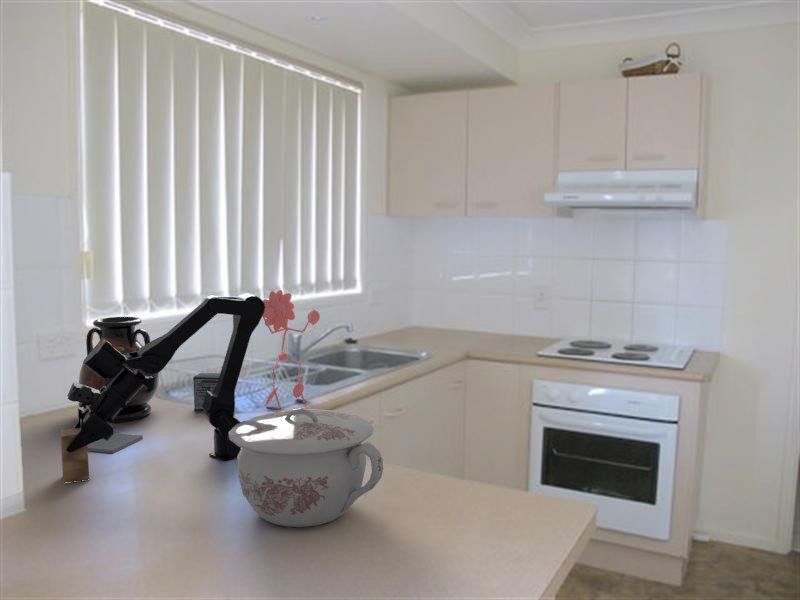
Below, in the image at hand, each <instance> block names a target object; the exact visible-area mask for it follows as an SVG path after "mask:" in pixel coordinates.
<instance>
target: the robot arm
mask: <svg viewBox="0 0 800 600" xmlns="http://www.w3.org/2000/svg"><path fill="white" fill-rule="evenodd" d="M264 311H265V304H264V303H263V299H261V297H258V296H256V295H254V294H251V293H242V294H240V295H237V296H218V295H217V296H216V295H208V296H207V297H205V299H204V300H202V302H201V303H200V304H198V305H197V306H196V307H195V308H194V309H193V310H192V311H191V312H189V313H188V314H187V315H186V316H185V317H183V318H182V319H181V320H180V321H179V322H178V323H177V324H175V325H174V326H173V327H172V328H171V329H169V331H167V332H166V333H165V334H163V335H161V336H159V337H156V338H155V339H152V340H150V342H149V343H148V344H146V345H145V344H144V345H143V347H141V348H140V349H139V350H138V351H135V352H131V353H126V354H121V353H120V352H119V351H117V350H116V349H115V348H114V347H113V346H112V345H111V344H110V343H109V342H108V341H104V342H103V343H102V344H101V345H99V346H98V347H97V348H96V349H95V350H94V348H93V350H92V351H91V352H90V353H89V354H88V356H87V355H86V357H85V358H84V360H83V361H82V365H83V364H84V365H85V366H87V367H88V368H89V369H91V370H92V371H93V372H94V373H96V374H97V375H98V376H99V377H101V378H102V379H106V378H108V379H112V378H114V377H115V376H116V375H117V374H118V373H119V372H120V370H121V369H122V368H124V369H123V370H122V371H121V372H120V373H119V374H118V375H117V376H116V378H115V379H114V380H113V381H112V382H111V383H110V384H109V385H108V386H107V387H106V386H104V387H103V386H102V387H101V388H100V389H99V390H97V389H94V388H91V387H88V386H85V385H82V384H79V382H75V381H74V382H72V384H71V387H70V389H69V391H68V394H67V399H68V400H69V401H70V402H71V401H72V402H76V403H78V404H77V405H78V406H79V408H77V417H78V418H77V421H76V423H75V425H74V426H73V427H72V429H75V428H80V430H79V431H78V433H77V434H76V436H75V437H74V439H73V440H72V441H71V443H70V444H69V446H68V447H67V449H66V451H68V452H69V453H71V452H73V451H75V450H77V449H80V448H82V447H84V446H86V445H88V444H90V443H93V442H95V441H97V440H100V439H103V438H104V439H105V440H107V441H108V439H109V438H110V437H111V436H112V435H113V434H114V433H115V431H114V425H113V423H114V422H113V421H114V419H113V418H114V417H115V416H116V415H117V414H118V413H119V412H120V410H121V409H122V408H123V409H124V410H125V408H126V407H127V403H128V402H129V401H130V400H131V399H132V398H133V397H134V395H135V394H136V393H137V392H138V391H139V390H140V389H141V388H142V387H143V386H144V385H145V386H146V387H147V388H149V389H150V390H153V377H152V376H148V377H147V376H145V375H144V374H143V373H141V372H140V371H139V370H138V369H142V370H143V371H144V372H145V373H148V374H156V373H159V374H160V372H162V371H163V370H164V368H166V366H167V365H168V363H169V362H170V361H171V360H172V359H173V357H174V356H175V354H176V352H177V351H178V349H179V348H181V346H182V345H184V343H186V342H187V341H188V340H189V339H190V338H191V337H192V336H193V335H195V334H196V333H197V332H198V331H200V330H201V329H202V328H203V327H204V326H205V325H206V324H207V323H209V322H210V321H211V320H212V319H213V318H215V316H217V315H219V314H220V315H232V325H233V327H232V332H231V337H230V340H229V343H228V345H227V350H226V353H225V356H224V359H223V363H222V366H221V369H220V370H221V371H220V372H219V373H220V376H219V380H218V383H217V386H216V387H215V389H214V390H213V392H209V391H206V396H205V401H204V403H203V404H202V408H203V409H204V410H203V411H202V414H203V416H204V417H205V419H206V421H207V422H208V423H209V424H210V425H211V426H212V427H213V428H214V429H213V434H214V435H213V444H214V448H213V449H214V451H212V452H209V453H208V455H209V456H210V457H213V458H214V459H218V460H221V461H223V462H224V461H225V462H226V461H229V460H233V459H237V456H238V454H239V452H240V450H241V447H239V446H237V445H236V444H235V443H233V442H232V441H231V440H229V431H230V430H231V429H232V428H233V427H234V426H235V425H236V424H238V423H240V422H241V421H240V420H239V419H238V418H237V417H236V416H235V410H236V409H235V408H236V396H235V395H236V394H235V392H236V388H237V384H238V380H239V377H240V374H241V372H242V371H241V370H242V367H243V365H244V361H245V357H246V354H247V350H248V346H249V343H250V340H251V336H252V334H253V332H254V331H255V330H256V328H257V327H258V326H259V325H260V322H261V319H263V317H262V316H263V314H264ZM124 363H126V364H127V365H128V366H130V367H131V368H134V369H136V370H134V371H132V370H130V369H129V368H128V367H126V366H125V365H124ZM80 408H81V409H80Z"/></svg>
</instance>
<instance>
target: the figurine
mask: <svg viewBox="0 0 800 600" xmlns="http://www.w3.org/2000/svg"><path fill="white" fill-rule="evenodd" d="M291 299H292V294H291V293H290V292H286V293H284V294H283V290H281V289H278V290H277V291H276V292H275V291H274V290H271V291H270V292H269V295H268V299H262V301H263V303H264V304H265V311H264V314H263V316H262V319H263V321H264V325H265V326H266V327H267V328H268V330H269V331H270V334H271V335H272V334H275V333H279V332H282V331H284V333H283V335H282V345H281V352H280V353H278V356H277V358H278V359H277V361H276V362H275V364H274V366H273V368H272V391H271V393H269V396H267V397H268V398H266V402H265V405H264V406H265V407H267V406H268V404H270V402H272V400H273V399H274V397H275V399H276V402H277V403H276V404H277V406H278V409H279V408H281V409H282V407H281V404H280V400H279V396H278V393H277V391H278V387H275V368H276V366H277V364H278V363H279V361H280V362H284V361H286V360H290V361H293V362H295V363H298V367H299V368H298V377H297V378H298V380H297V381H298V382H297V384H295V385H294V387H293V388H292V395H293V396H294V398H296V399H298V398H299V397H300V396H301V399H302V403H303V404H305V403H306V401H305V398H304V395H303V393H304V390H305V386H304V384H303V383H302V382H300V379H301V378H300V377H301V364H302V363H301V362H300V361H297V360H295V359H292V358H291V357H288V354H287V353H286V352H284V346H285V341H286V339H285V338H286V334H287V332H288V331H289V330H290V331H294V332H298V333H304V332H305V331H306V330H307V327H308V326H309V324H311V325H312V326H314V325H316V324H317V322H319V320H320V318H321V317H320V313H319V312H318V311H317V310H316V309H313V310H311V311H310V312H309V313H308V315H307V322H306V324H305V325H304V328H303V330H301V329H295V328H290V327H288V322H289V321H294V319H295V317H296V315H295V313H294V311H293V310H294V309H295V305H294V304H293V302H291ZM271 326H273V327H272V328H273V329H274V331H273V330H272V328H271ZM273 396H274V397H273ZM297 397H298V398H297ZM318 399H320V400H321V398H320V397H318ZM266 405H267V406H266Z"/></svg>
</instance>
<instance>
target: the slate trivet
mask: <svg viewBox="0 0 800 600" xmlns="http://www.w3.org/2000/svg"><path fill="white" fill-rule="evenodd" d="M143 438H144V436H143V435H141V434H130V433H120V432H118V433H117V432H114V434H113V435H112V436H111V437H110V438H109V439H108V441H107V440H105V439H104V438H103V439H100V440H97V441H95V442H93V443H90V444H88V452H94V451H95V452H97V453H107V454H114V453H116V452H119V451H120V450H123V449H125V448H126V447H128V446H131V445H133V444H134V443H137V442H139V441H141V440H143ZM95 452H94V453H95Z"/></svg>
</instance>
